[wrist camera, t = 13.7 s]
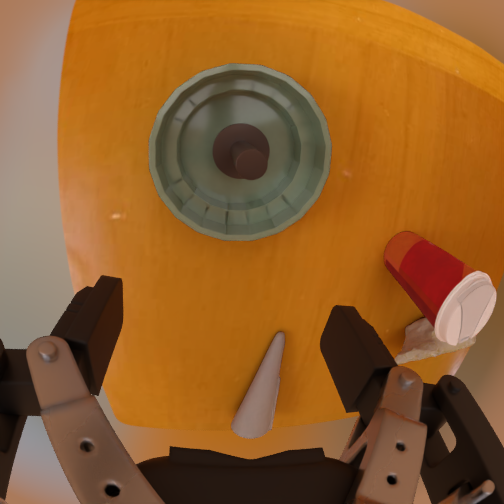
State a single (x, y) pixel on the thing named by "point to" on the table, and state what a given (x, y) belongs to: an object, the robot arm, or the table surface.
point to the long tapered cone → (261, 395)
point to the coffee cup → (441, 287)
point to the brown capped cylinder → (241, 152)
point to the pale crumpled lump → (425, 343)
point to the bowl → (222, 186)
